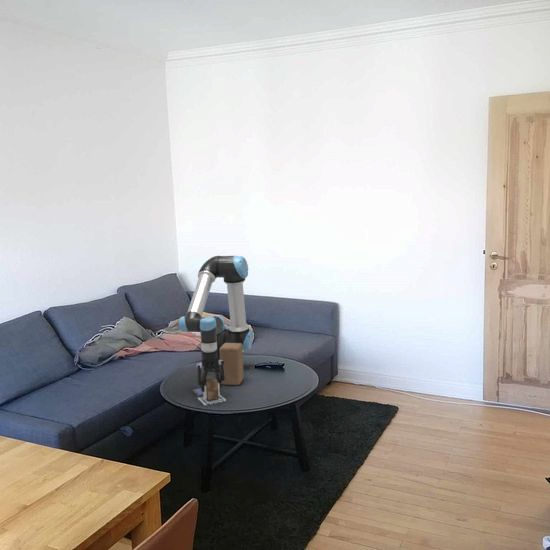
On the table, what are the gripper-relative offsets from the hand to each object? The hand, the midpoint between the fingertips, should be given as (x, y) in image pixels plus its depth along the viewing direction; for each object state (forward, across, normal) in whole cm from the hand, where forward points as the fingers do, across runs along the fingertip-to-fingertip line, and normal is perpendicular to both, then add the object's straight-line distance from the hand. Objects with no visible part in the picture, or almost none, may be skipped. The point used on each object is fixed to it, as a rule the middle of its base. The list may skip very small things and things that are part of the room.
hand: (211, 396), depth 279 cm
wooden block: (+2, +18, +18) cm, 25 cm away
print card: (+2, 0, 0) cm, 2 cm away
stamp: (+1, 0, 0) cm, 1 cm away
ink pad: (+2, 0, +10) cm, 11 cm away
